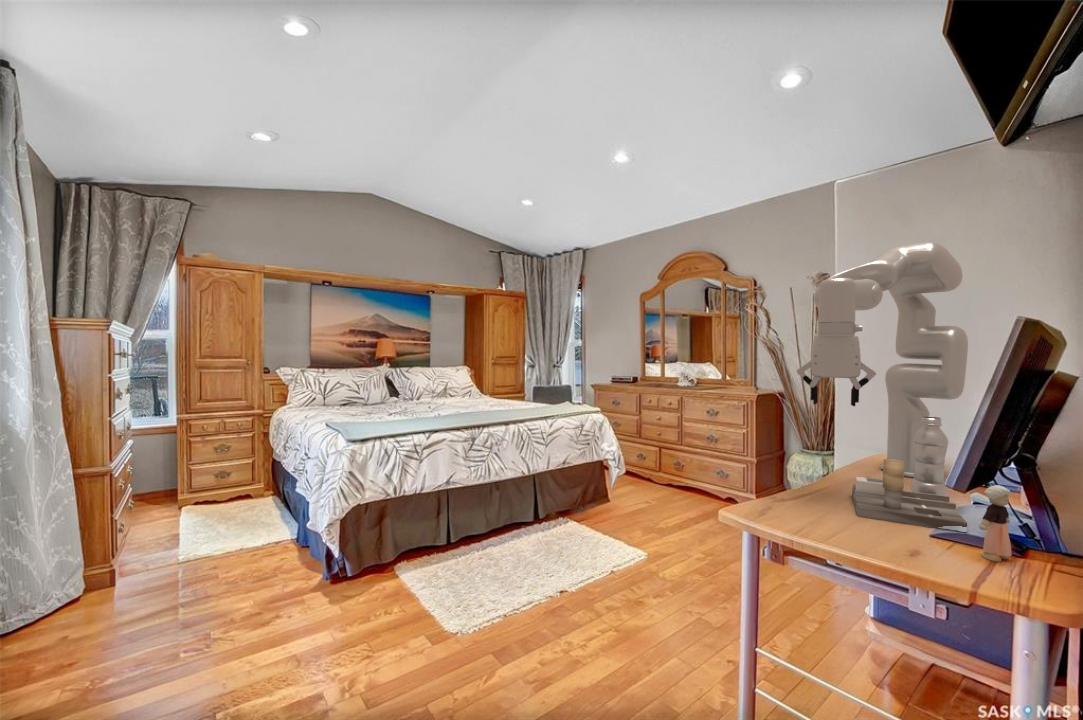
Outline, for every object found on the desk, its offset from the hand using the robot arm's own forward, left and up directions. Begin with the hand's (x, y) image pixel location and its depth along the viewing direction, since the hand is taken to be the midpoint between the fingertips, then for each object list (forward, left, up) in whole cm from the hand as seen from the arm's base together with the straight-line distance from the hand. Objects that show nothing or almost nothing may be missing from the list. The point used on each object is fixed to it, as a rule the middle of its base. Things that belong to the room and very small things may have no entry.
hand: (834, 403), depth 114 cm
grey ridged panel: (+3, +14, -23) cm, 27 cm away
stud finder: (0, +8, -21) cm, 22 cm away
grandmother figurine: (+22, +24, -23) cm, 40 cm away
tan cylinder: (+7, +11, -21) cm, 25 cm away
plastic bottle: (-9, +20, -23) cm, 32 cm away
